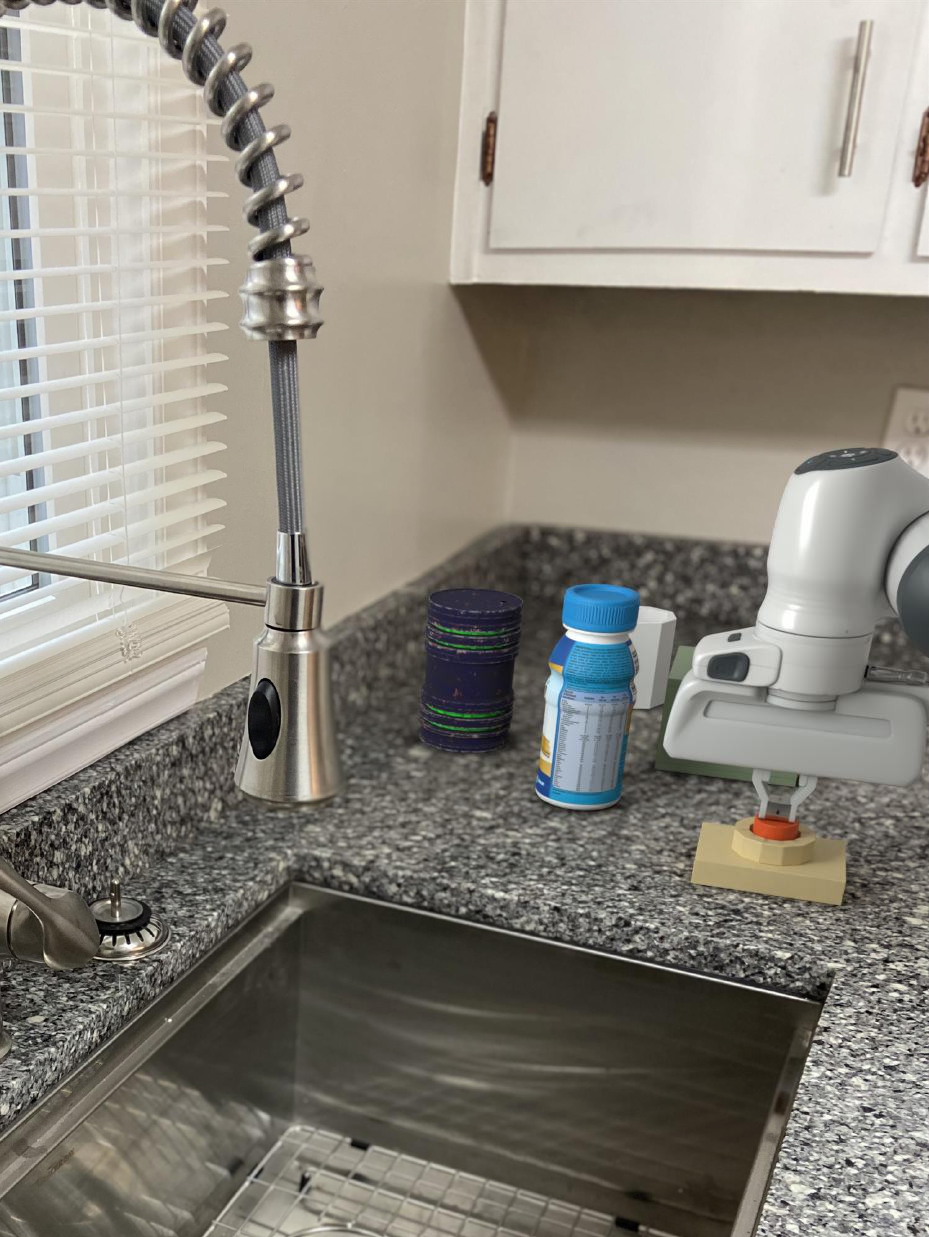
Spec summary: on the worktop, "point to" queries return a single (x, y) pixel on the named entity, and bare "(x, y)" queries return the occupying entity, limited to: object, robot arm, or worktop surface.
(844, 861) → the control block
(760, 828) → the button
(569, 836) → the worktop surface
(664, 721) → the cabinet
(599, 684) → the beverage bottle
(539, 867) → the worktop surface
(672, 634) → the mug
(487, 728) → the storage jar
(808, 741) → the robot arm
